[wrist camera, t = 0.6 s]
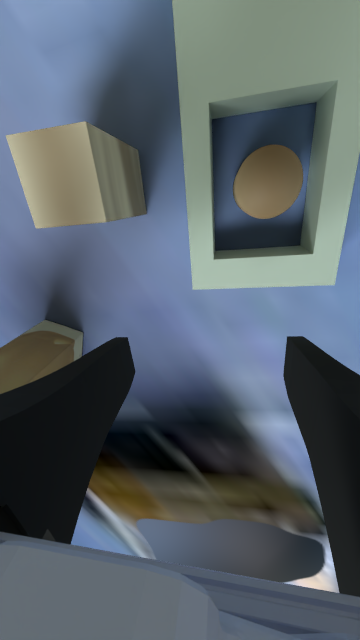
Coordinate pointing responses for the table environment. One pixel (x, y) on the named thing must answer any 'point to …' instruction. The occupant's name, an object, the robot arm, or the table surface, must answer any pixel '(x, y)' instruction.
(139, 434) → the table surface
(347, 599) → the robot arm
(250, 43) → the green board with holes
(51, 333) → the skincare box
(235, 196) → the tan cylinder
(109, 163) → the maple peg
